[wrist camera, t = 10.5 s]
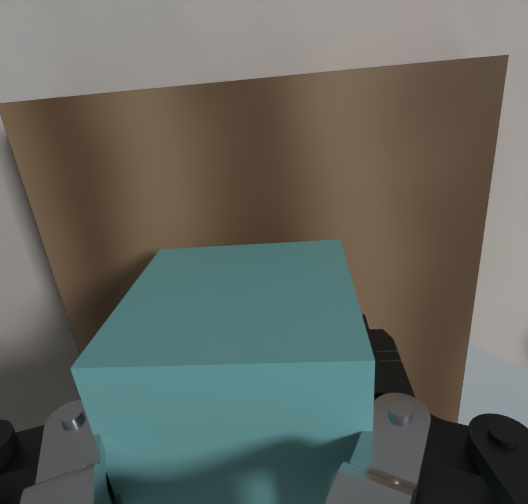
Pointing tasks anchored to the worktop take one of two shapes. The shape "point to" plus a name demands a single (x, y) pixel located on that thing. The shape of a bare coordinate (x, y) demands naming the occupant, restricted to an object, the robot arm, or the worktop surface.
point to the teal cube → (231, 376)
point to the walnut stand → (280, 190)
